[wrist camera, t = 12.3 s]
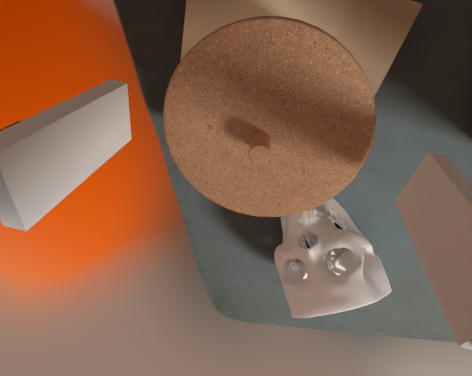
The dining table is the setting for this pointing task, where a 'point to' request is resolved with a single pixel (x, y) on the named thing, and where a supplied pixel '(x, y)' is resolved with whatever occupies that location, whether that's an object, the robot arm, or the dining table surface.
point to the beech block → (319, 24)
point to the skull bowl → (327, 263)
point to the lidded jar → (269, 116)
